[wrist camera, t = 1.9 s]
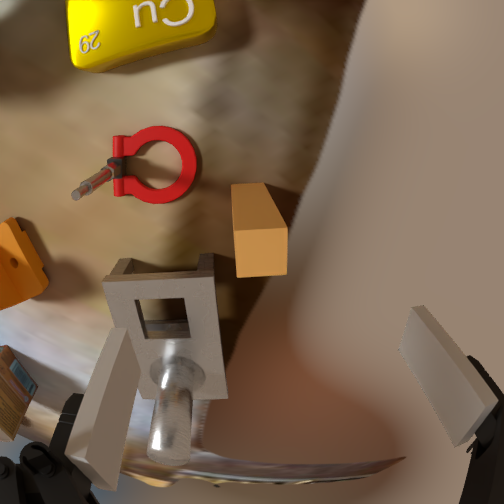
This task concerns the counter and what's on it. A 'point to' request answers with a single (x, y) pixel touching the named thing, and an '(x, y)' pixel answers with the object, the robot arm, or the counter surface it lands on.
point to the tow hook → (131, 183)
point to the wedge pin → (258, 232)
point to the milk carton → (13, 394)
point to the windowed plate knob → (171, 349)
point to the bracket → (18, 266)
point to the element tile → (134, 29)
